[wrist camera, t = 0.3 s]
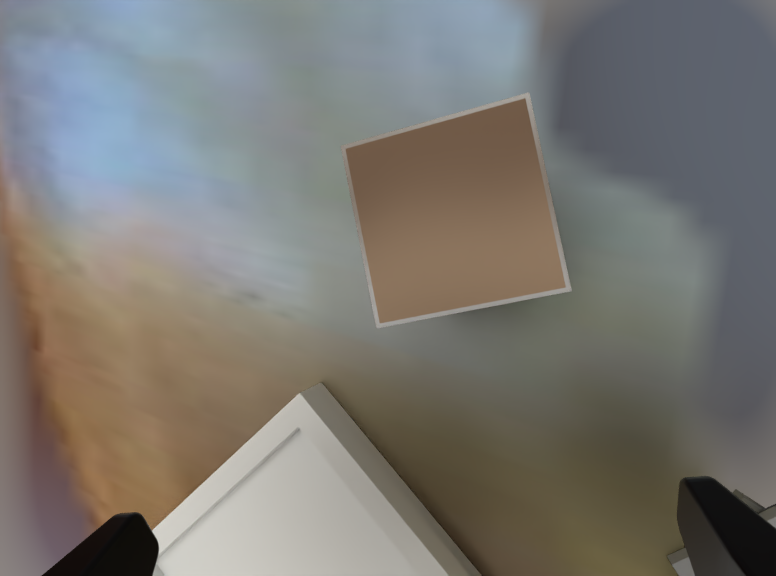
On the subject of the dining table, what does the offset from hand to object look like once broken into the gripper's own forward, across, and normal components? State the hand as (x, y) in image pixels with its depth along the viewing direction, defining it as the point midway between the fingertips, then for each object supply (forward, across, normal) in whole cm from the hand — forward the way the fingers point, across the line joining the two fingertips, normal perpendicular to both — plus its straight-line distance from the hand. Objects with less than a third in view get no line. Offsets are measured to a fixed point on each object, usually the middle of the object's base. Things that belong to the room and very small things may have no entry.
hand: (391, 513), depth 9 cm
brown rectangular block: (+15, -2, +2) cm, 15 cm away
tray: (+9, +7, +15) cm, 19 cm away
